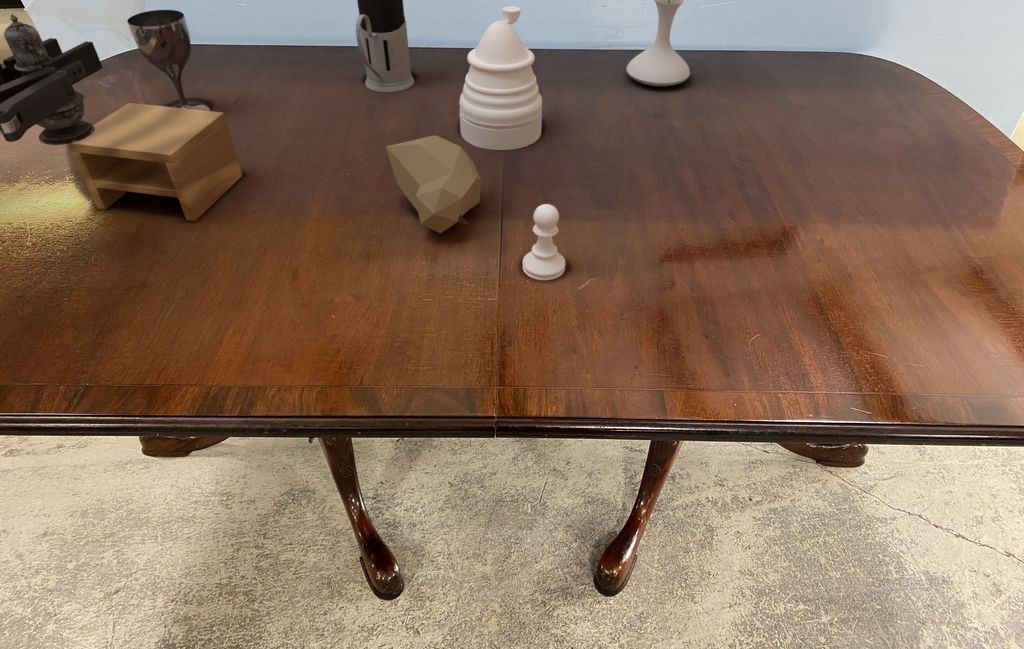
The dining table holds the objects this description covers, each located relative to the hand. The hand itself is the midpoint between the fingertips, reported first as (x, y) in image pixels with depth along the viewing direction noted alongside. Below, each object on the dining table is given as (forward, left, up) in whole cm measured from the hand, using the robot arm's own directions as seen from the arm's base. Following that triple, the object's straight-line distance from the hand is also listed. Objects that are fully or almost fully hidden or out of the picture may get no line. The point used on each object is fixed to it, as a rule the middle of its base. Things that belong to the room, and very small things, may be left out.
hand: (76, 53), depth 70 cm
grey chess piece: (0, -5, -7) cm, 9 cm away
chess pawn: (+51, +2, -22) cm, 55 cm away
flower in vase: (+61, +63, -22) cm, 90 cm away
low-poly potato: (+36, +10, -22) cm, 43 cm away
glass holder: (+14, +49, -22) cm, 55 cm away
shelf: (-1, +8, -22) cm, 23 cm away
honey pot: (+38, +37, -22) cm, 57 cm away
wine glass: (-14, +32, -22) cm, 41 cm away
